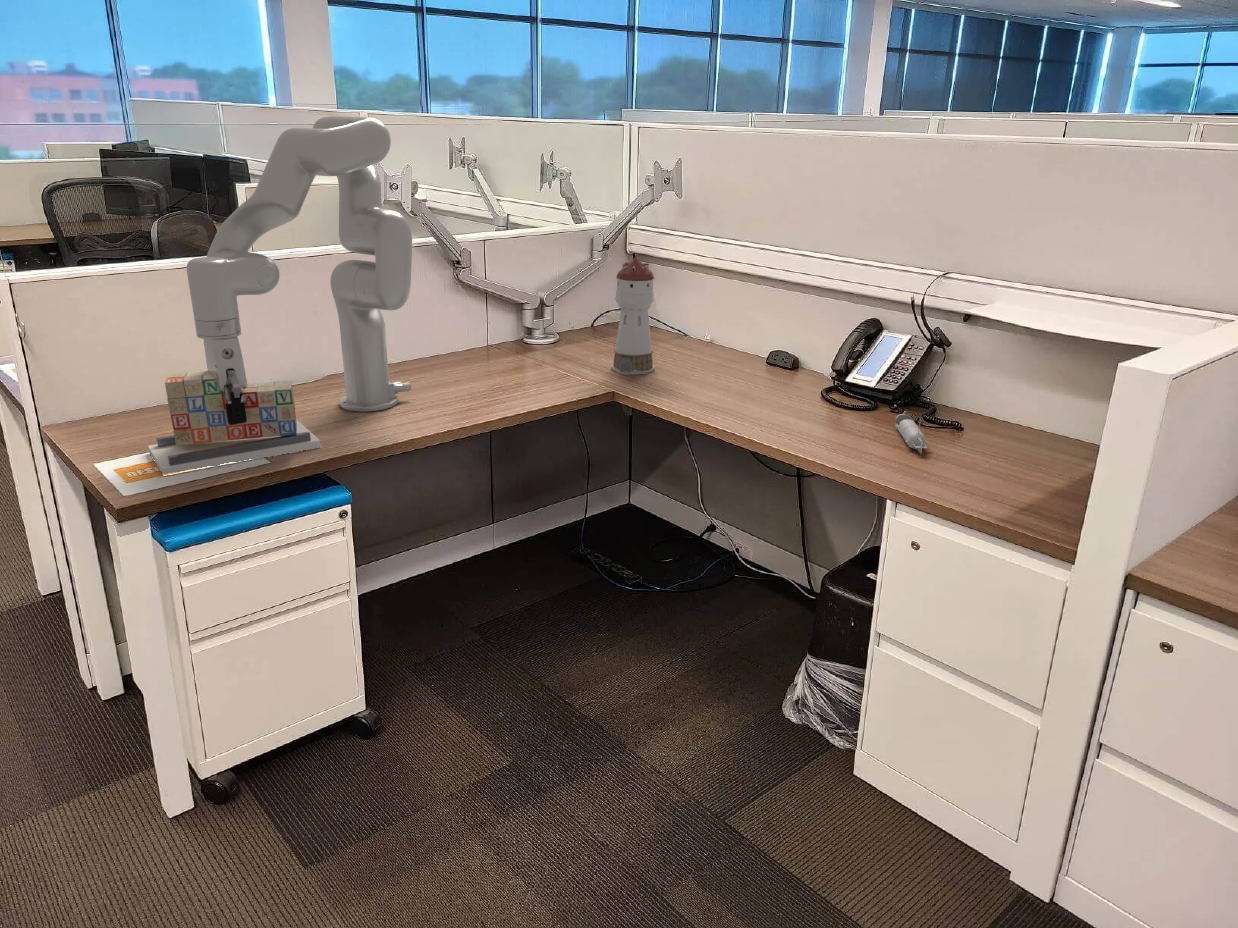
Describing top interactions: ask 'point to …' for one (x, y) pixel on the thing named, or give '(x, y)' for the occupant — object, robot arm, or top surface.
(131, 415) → the top surface
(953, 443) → the top surface
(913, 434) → the torpedo
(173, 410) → the stack of blocks
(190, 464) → the base board
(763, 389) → the top surface
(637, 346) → the miniature model
